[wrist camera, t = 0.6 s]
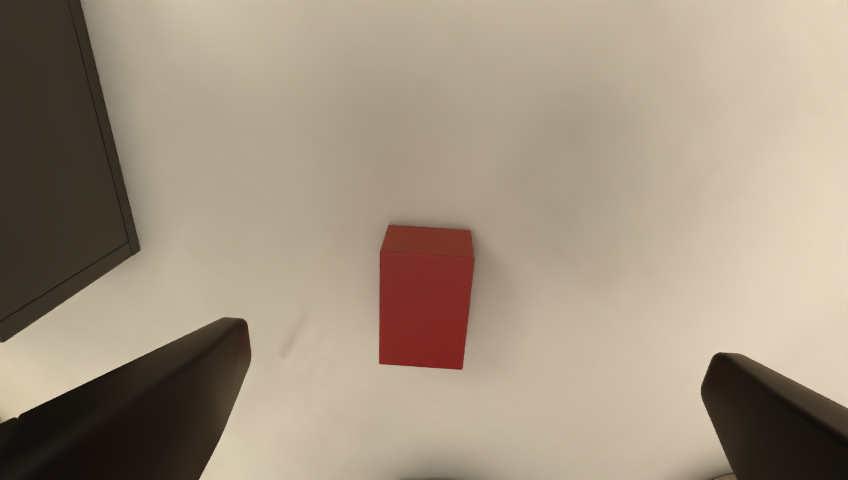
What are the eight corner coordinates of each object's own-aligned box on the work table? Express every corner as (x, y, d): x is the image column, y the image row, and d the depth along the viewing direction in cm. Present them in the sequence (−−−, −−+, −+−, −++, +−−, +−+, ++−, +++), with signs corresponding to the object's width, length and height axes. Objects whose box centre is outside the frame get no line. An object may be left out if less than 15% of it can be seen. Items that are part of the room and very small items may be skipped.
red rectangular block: (460, 332, 24) (462, 370, 21) (386, 327, 24) (378, 364, 21) (471, 230, 21) (474, 257, 18) (388, 224, 21) (379, 251, 18)
